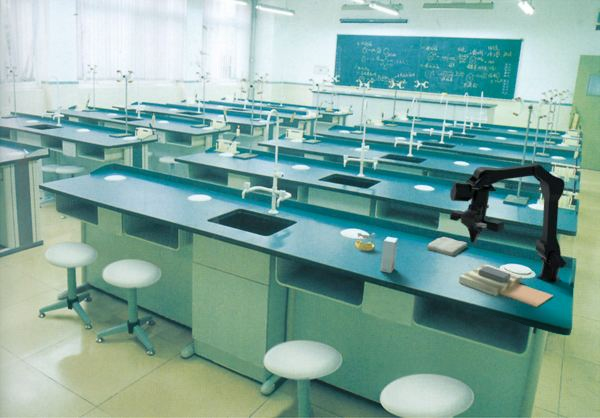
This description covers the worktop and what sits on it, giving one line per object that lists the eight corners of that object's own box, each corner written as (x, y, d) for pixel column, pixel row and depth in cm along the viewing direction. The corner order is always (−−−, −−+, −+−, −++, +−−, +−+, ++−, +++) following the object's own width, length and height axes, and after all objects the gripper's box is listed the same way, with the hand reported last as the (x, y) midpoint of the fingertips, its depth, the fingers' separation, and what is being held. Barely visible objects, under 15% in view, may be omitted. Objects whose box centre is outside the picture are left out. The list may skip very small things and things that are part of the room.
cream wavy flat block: (485, 270, 193) (486, 264, 192) (520, 282, 183) (522, 276, 183) (458, 282, 180) (459, 276, 179) (495, 296, 170) (497, 289, 169)
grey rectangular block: (486, 271, 185) (486, 266, 185) (509, 279, 179) (510, 274, 178) (478, 274, 181) (479, 269, 181) (502, 283, 175) (503, 277, 174)
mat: (517, 284, 181) (517, 283, 181) (552, 296, 173) (553, 295, 173) (499, 293, 172) (500, 292, 172) (536, 307, 163) (536, 306, 163)
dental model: (373, 246, 213) (375, 231, 211) (374, 251, 206) (375, 236, 204) (354, 244, 214) (356, 229, 212) (355, 249, 207) (356, 234, 205)
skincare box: (391, 273, 184) (395, 242, 181) (379, 271, 185) (383, 240, 182) (394, 268, 189) (398, 238, 186) (383, 265, 191) (386, 236, 188)
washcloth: (467, 247, 220) (468, 241, 219) (453, 257, 206) (454, 250, 205) (441, 241, 227) (442, 234, 226) (426, 250, 213) (426, 243, 212)
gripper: (444, 199, 181) (439, 239, 185) (493, 211, 168) (486, 254, 172) (460, 195, 189) (454, 234, 193) (508, 206, 176) (500, 248, 180)
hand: (472, 242), depth 184 cm, fingers closed
